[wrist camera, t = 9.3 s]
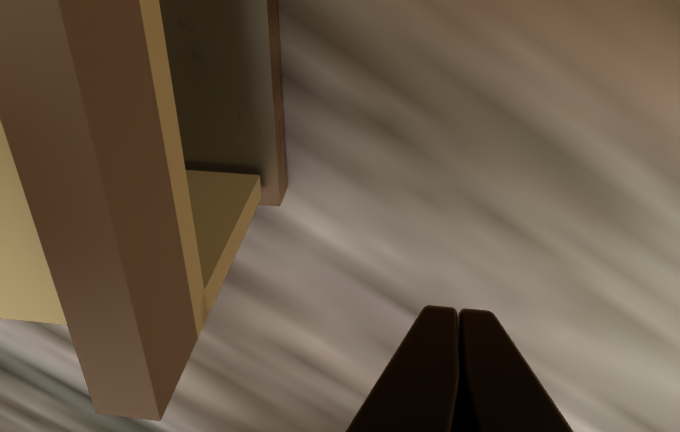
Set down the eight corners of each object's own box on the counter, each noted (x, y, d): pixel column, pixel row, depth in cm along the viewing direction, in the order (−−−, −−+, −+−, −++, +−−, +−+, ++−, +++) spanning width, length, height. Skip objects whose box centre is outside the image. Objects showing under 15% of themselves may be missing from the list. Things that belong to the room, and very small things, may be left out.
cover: (261, 197, 20) (160, 420, 13) (54, 181, 21) (-147, 384, 14) (231, -171, 15) (27, -127, 8) (-50, -173, 16) (-471, -134, 8)
